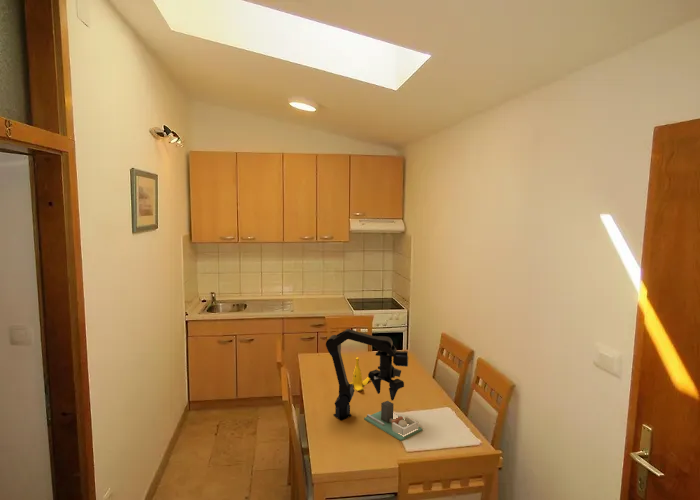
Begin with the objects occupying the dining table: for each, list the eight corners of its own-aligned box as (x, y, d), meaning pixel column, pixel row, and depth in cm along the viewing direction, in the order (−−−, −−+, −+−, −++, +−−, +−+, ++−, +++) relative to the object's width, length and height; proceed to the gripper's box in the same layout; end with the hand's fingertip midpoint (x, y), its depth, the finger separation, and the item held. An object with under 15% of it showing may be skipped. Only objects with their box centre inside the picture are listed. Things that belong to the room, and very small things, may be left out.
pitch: (400, 441, 179) (400, 431, 179) (364, 419, 198) (364, 410, 197) (422, 430, 188) (422, 421, 187) (385, 410, 206) (385, 402, 206)
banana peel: (362, 395, 224) (362, 364, 222) (338, 384, 238) (338, 356, 236) (382, 385, 236) (382, 357, 234) (358, 376, 249) (358, 349, 247)
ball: (395, 421, 188) (397, 430, 187) (401, 421, 185) (403, 430, 184) (401, 418, 191) (403, 427, 190) (407, 418, 188) (409, 427, 187)
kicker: (393, 428, 188) (393, 411, 187) (379, 420, 195) (379, 403, 194) (402, 423, 192) (403, 407, 191) (388, 416, 199) (388, 399, 198)
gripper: (412, 366, 192) (412, 398, 193) (384, 355, 206) (384, 385, 208) (395, 372, 185) (395, 406, 186) (367, 360, 199) (367, 391, 201)
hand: (385, 396), depth 195 cm, fingers open, 9 cm apart
